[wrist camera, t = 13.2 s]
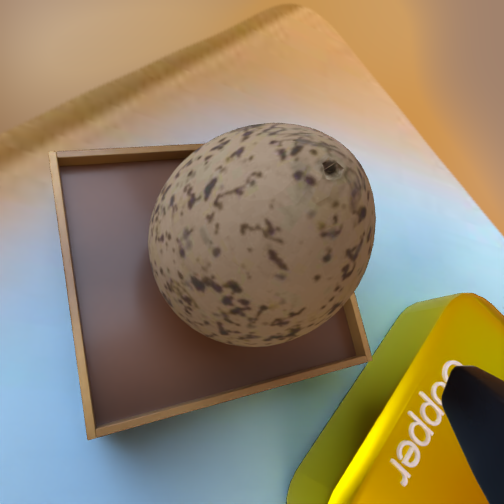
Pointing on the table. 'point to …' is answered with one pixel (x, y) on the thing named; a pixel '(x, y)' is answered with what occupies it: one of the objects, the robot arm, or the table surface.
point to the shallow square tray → (158, 304)
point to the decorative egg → (262, 234)
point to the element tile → (405, 413)
